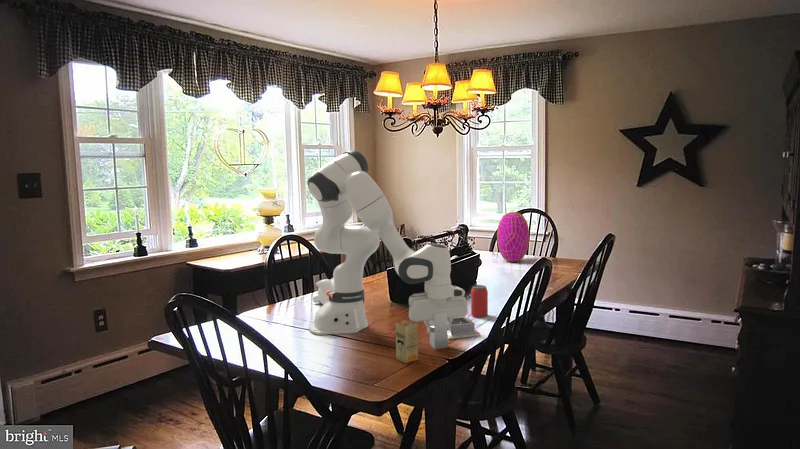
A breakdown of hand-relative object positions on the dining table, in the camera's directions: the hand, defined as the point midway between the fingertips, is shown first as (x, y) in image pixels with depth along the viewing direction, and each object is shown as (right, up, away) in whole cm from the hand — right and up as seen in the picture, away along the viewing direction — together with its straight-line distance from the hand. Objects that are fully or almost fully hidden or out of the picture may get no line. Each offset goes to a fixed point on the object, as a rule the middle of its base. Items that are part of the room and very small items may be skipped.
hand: (438, 331), depth 191 cm
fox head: (-44, 0, +58) cm, 73 cm away
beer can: (+19, -1, +36) cm, 41 cm away
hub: (+8, -3, +15) cm, 17 cm away
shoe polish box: (-11, -7, -11) cm, 17 cm away
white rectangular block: (0, -5, +1) cm, 5 cm away
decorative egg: (+55, +13, +151) cm, 162 cm away
